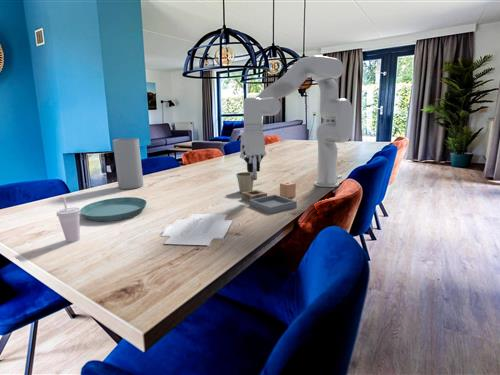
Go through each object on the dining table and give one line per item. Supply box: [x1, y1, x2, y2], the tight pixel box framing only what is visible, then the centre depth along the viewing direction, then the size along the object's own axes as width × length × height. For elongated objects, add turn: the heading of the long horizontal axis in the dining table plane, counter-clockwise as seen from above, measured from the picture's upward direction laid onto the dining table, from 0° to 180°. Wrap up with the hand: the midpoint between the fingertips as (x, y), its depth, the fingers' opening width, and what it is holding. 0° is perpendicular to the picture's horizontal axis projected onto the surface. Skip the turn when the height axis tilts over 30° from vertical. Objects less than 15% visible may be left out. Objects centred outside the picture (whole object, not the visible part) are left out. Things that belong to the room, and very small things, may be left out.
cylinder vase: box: [112, 137, 144, 190], centre depth 165 cm, size 12×12×25 cm
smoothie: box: [56, 196, 81, 243], centre depth 97 cm, size 6×6×14 cm
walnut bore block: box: [241, 189, 268, 203], centre depth 139 cm, size 8×8×3 cm
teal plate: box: [79, 196, 147, 222], centre depth 125 cm, size 24×24×3 cm
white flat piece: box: [160, 213, 234, 247], centre depth 106 cm, size 20×28×4 cm
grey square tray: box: [249, 194, 298, 214], centre depth 129 cm, size 14×14×2 cm
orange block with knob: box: [279, 181, 297, 199], centre depth 143 cm, size 5×5×6 cm
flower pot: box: [235, 171, 255, 193], centre depth 152 cm, size 9×9×9 cm
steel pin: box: [250, 155, 258, 181], centre depth 136 cm, size 3×3×12 cm
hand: (253, 171), depth 136 cm, fingers closed on steel pin, 3 cm apart
